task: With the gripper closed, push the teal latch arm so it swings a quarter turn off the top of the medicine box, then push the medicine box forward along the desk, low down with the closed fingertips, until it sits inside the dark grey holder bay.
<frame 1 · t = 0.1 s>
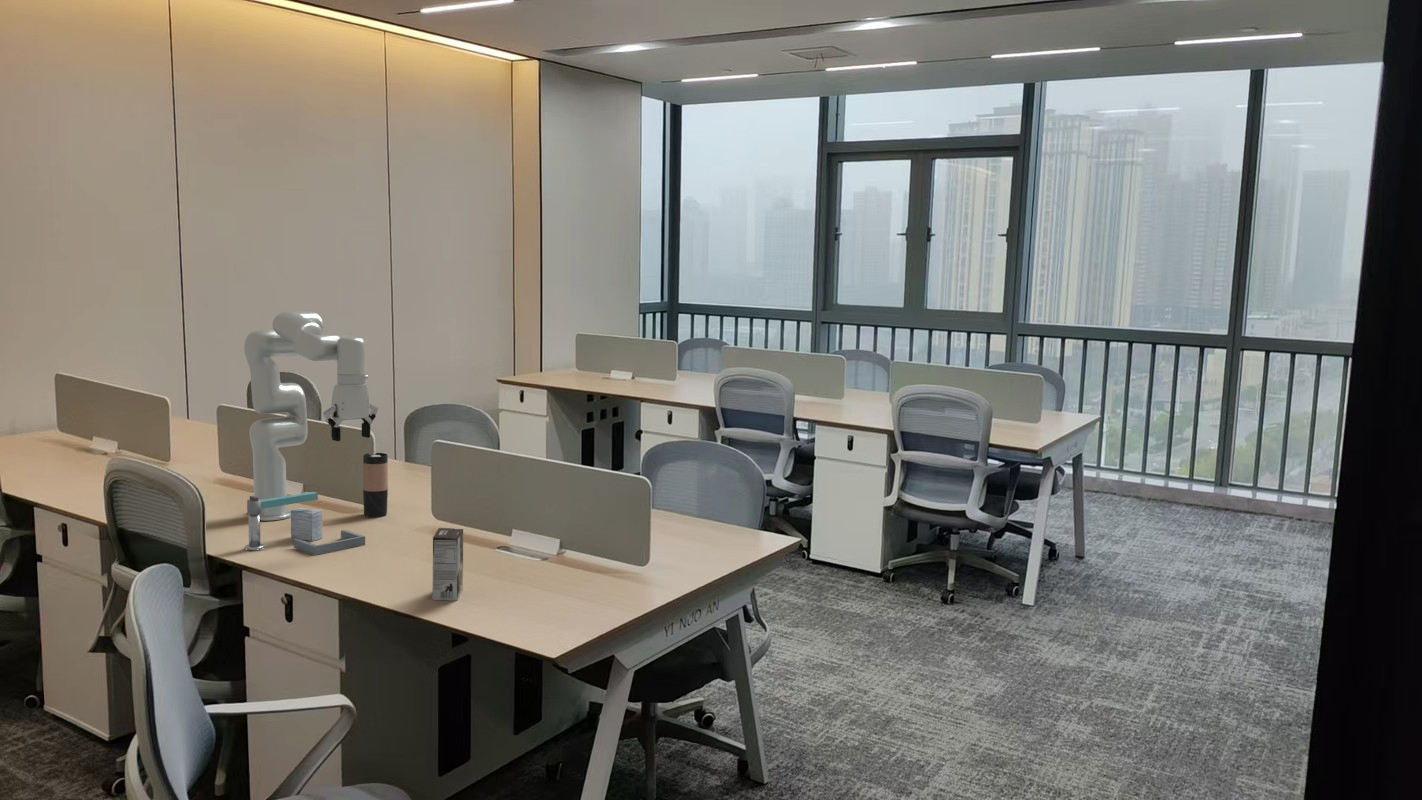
hand: (351, 438, 295), 31 cm above the table, tool pointing down, fingers open, 9 cm apart
latch arm: (282, 500, 296), point 13 cm above the table, hinge at 0.0°
travel mug: (375, 515, 334), on the table
coffee box: (447, 595, 257), on the table
bay: (329, 546, 296), on the table
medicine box: (306, 539, 303), on the table
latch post: (254, 548, 290), on the table
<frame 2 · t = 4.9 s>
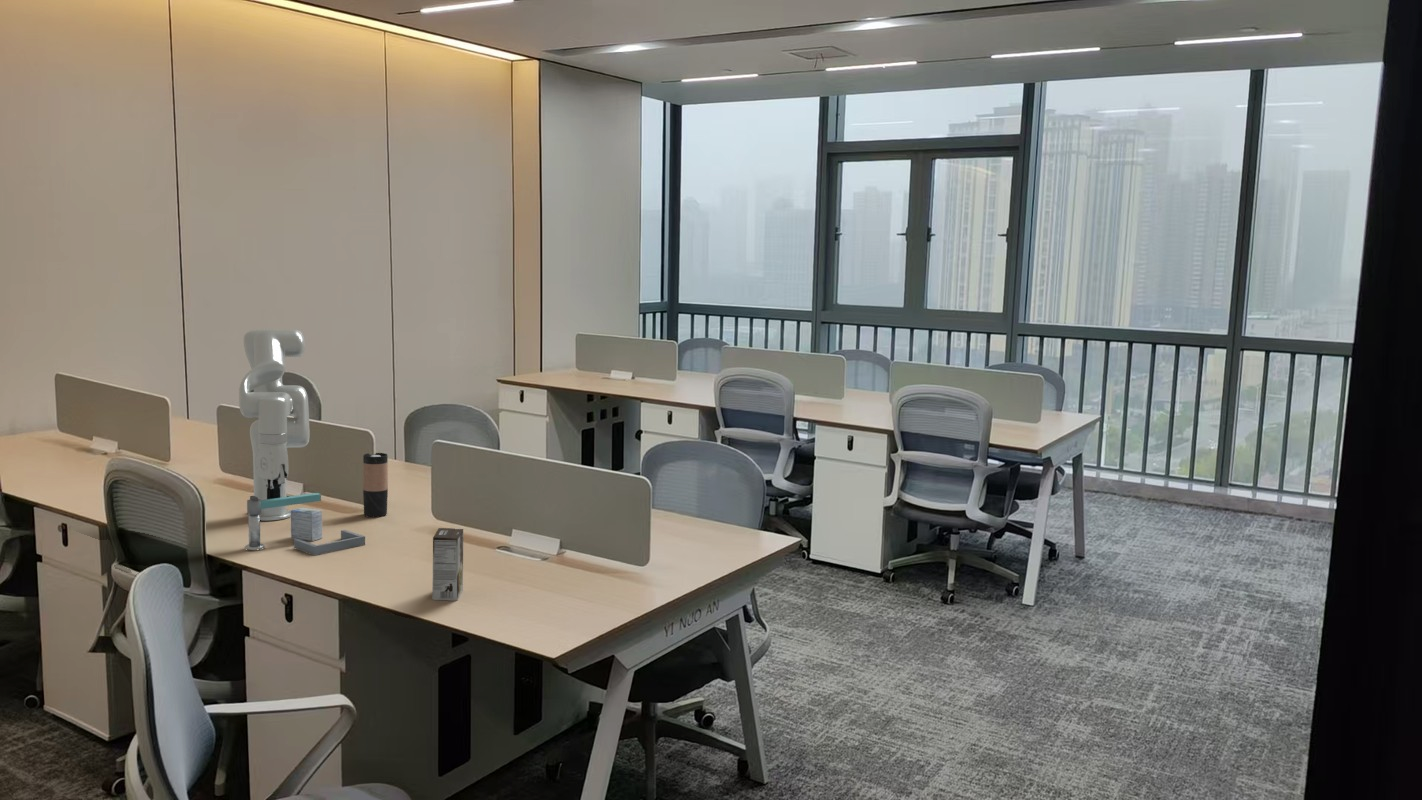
hand: (273, 501, 296), 12 cm above the table, tool pointing down, fingers closed
latch arm: (284, 500, 295), point 13 cm above the table, hinge at -6.4°, touching gripper
everything else where it was.
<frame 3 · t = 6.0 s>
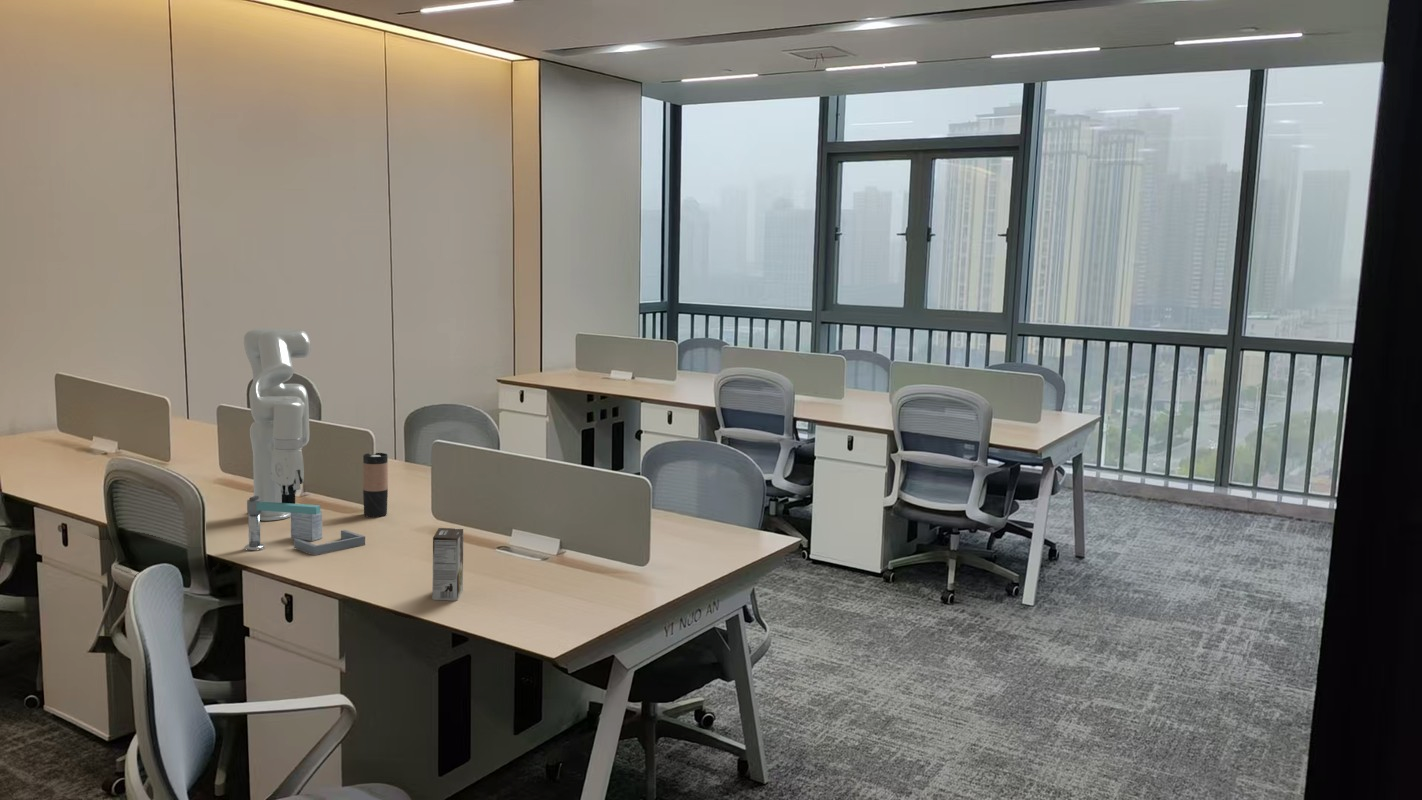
hand: (288, 507, 291), 12 cm above the table, tool pointing down, fingers closed
latch arm: (283, 506, 288), point 13 cm above the table, hinge at -58.5°, touching gripper
everything else where it was.
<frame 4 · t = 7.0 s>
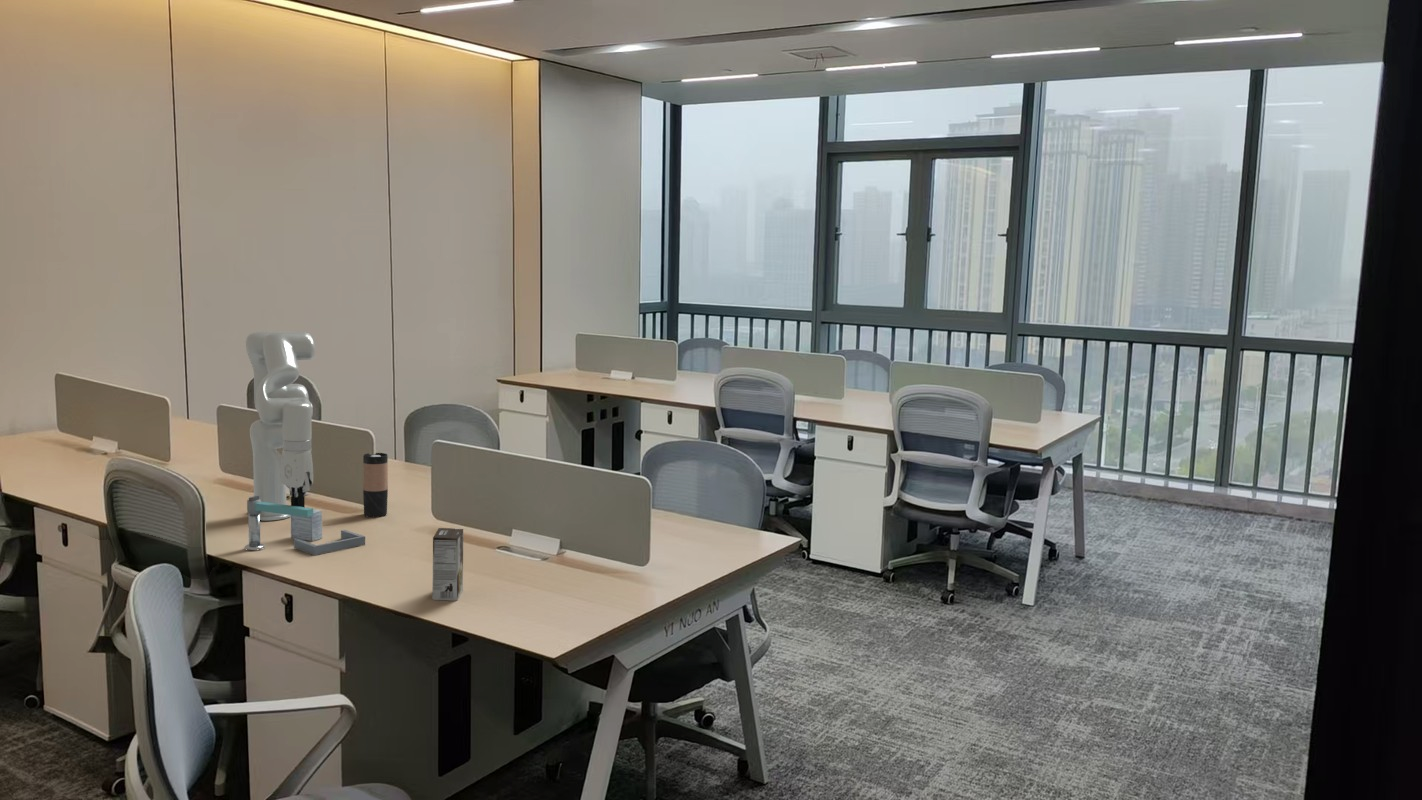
hand: (297, 509, 288), 12 cm above the table, tool pointing down, fingers closed
latch arm: (279, 508, 286), point 13 cm above the table, hinge at -69.9°, touching gripper
everything else where it was.
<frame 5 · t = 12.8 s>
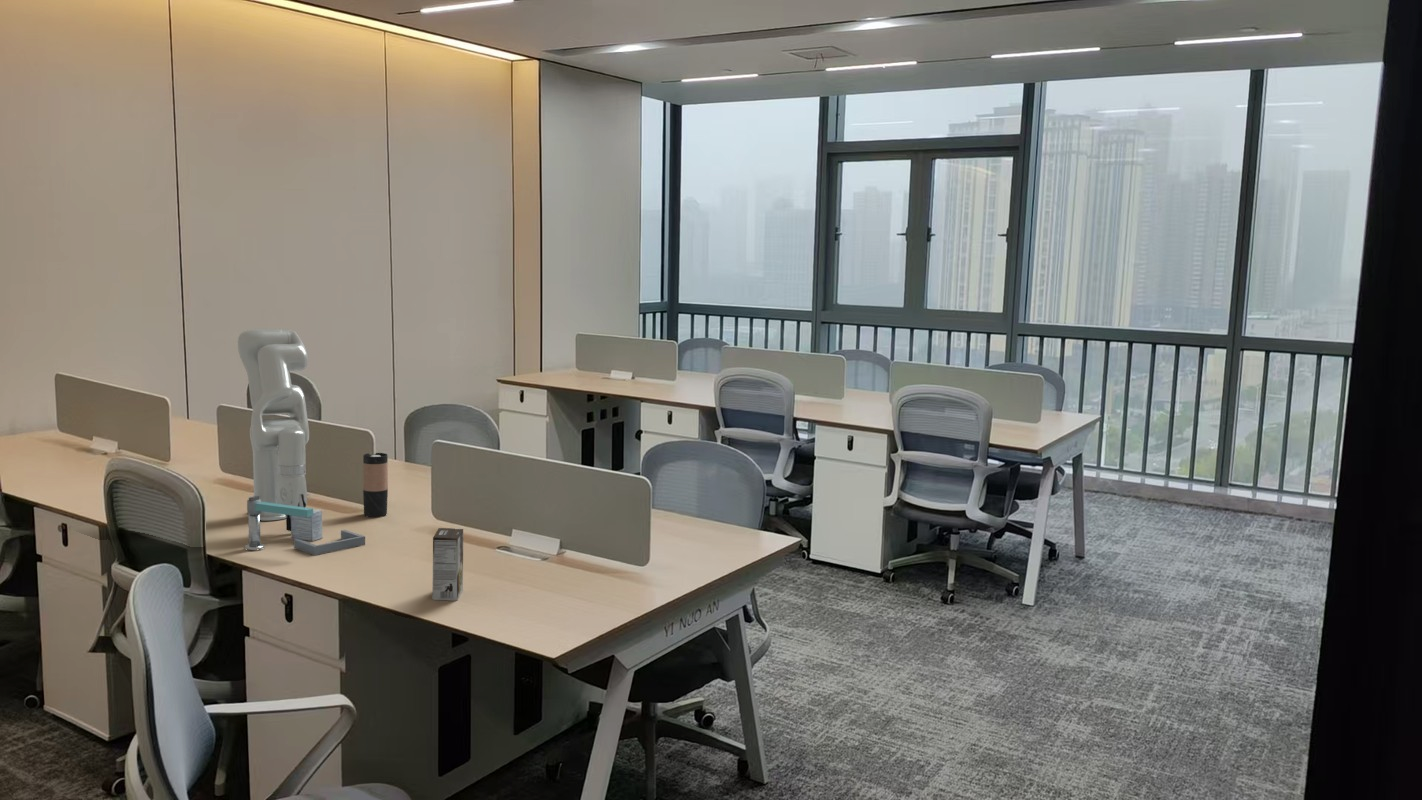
hand: (292, 529, 307), 1 cm above the table, tool pointing down, fingers closed
latch arm: (279, 508, 286), point 13 cm above the table, hinge at -70.0°
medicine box: (306, 539, 303), on the table, touching gripper
everything else where it was.
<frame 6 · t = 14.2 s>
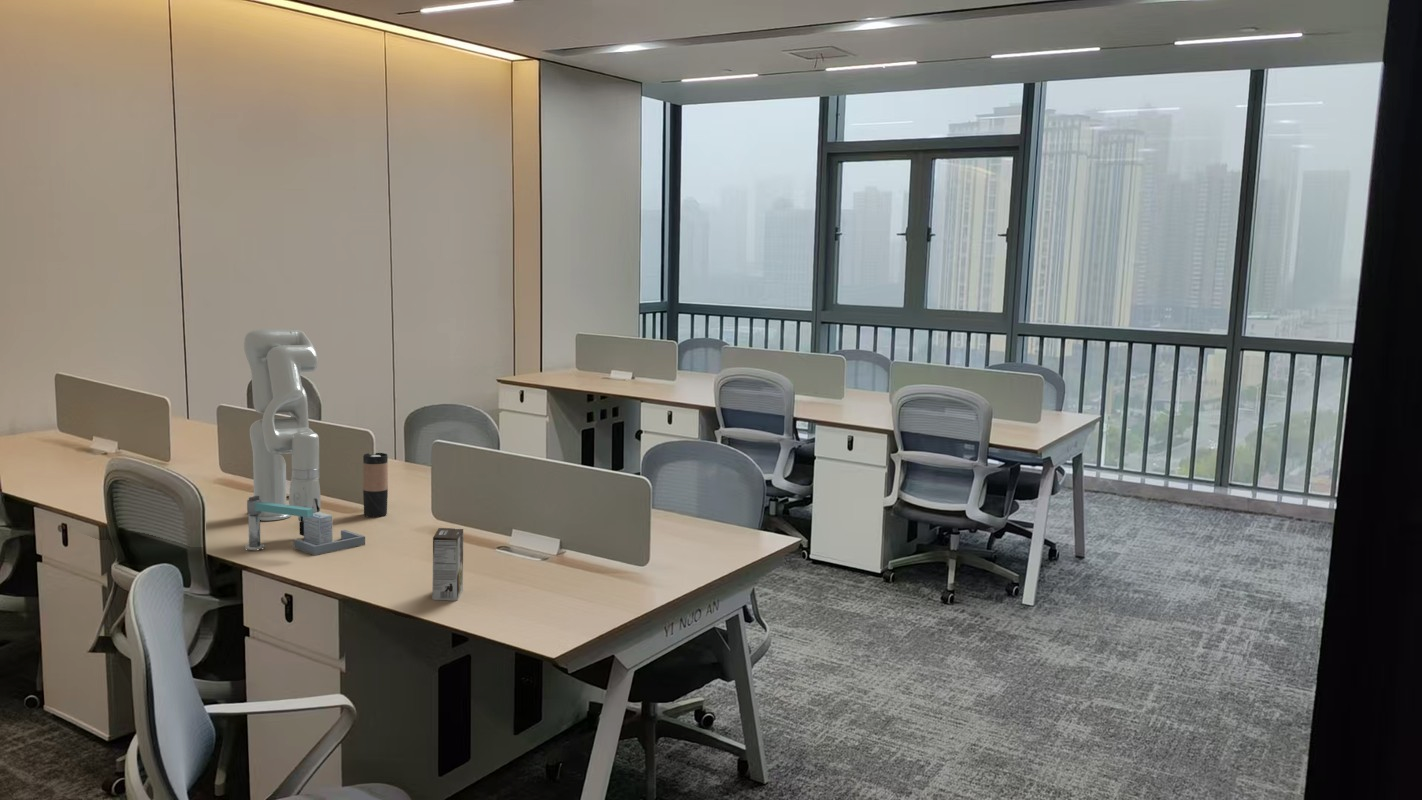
hand: (306, 534, 303), 1 cm above the table, tool pointing down, fingers closed
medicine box: (318, 543, 299), on the table, touching gripper
everything else where it was.
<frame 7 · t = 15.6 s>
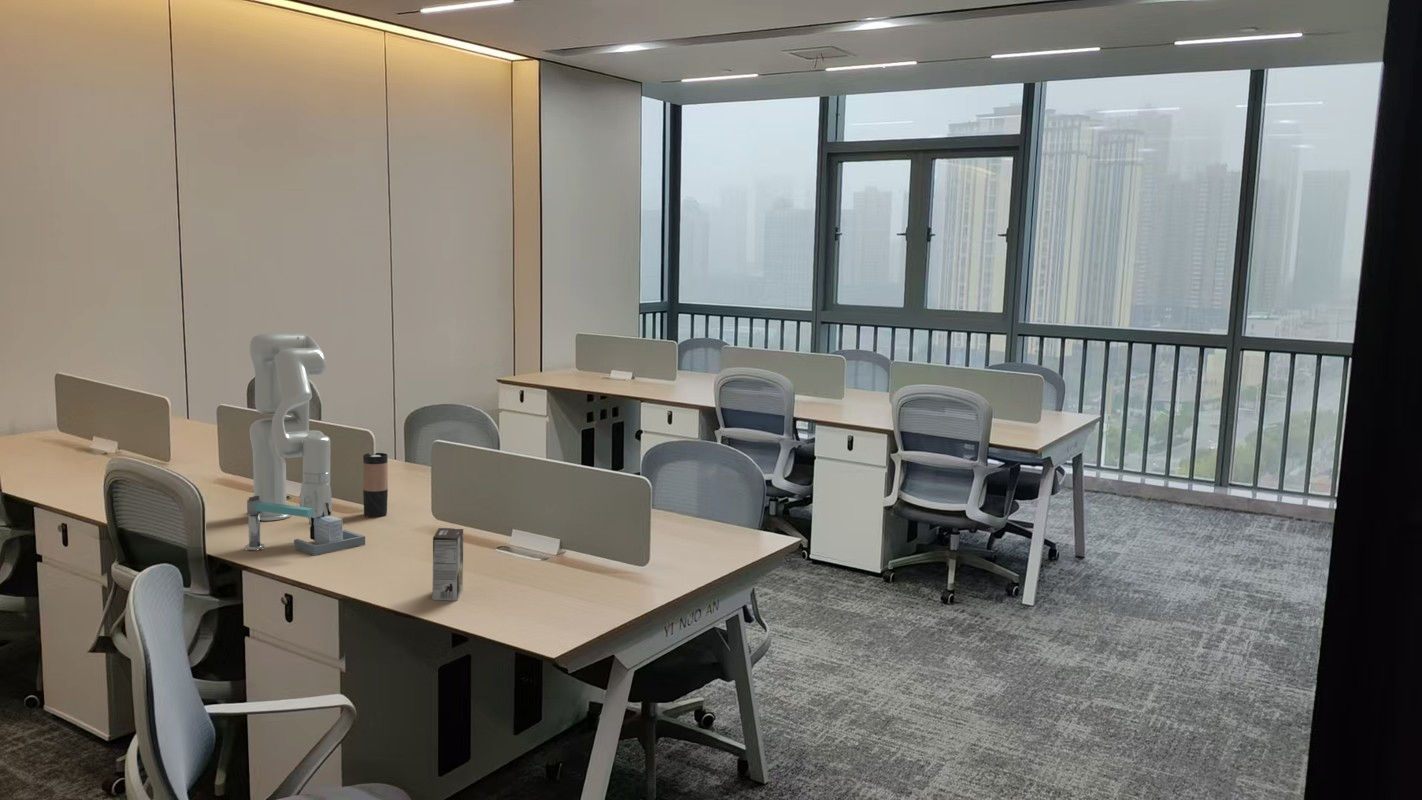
hand: (316, 538, 300), 1 cm above the table, tool pointing down, fingers closed
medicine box: (328, 547, 295), on the table, touching bay, gripper
everything else where it was.
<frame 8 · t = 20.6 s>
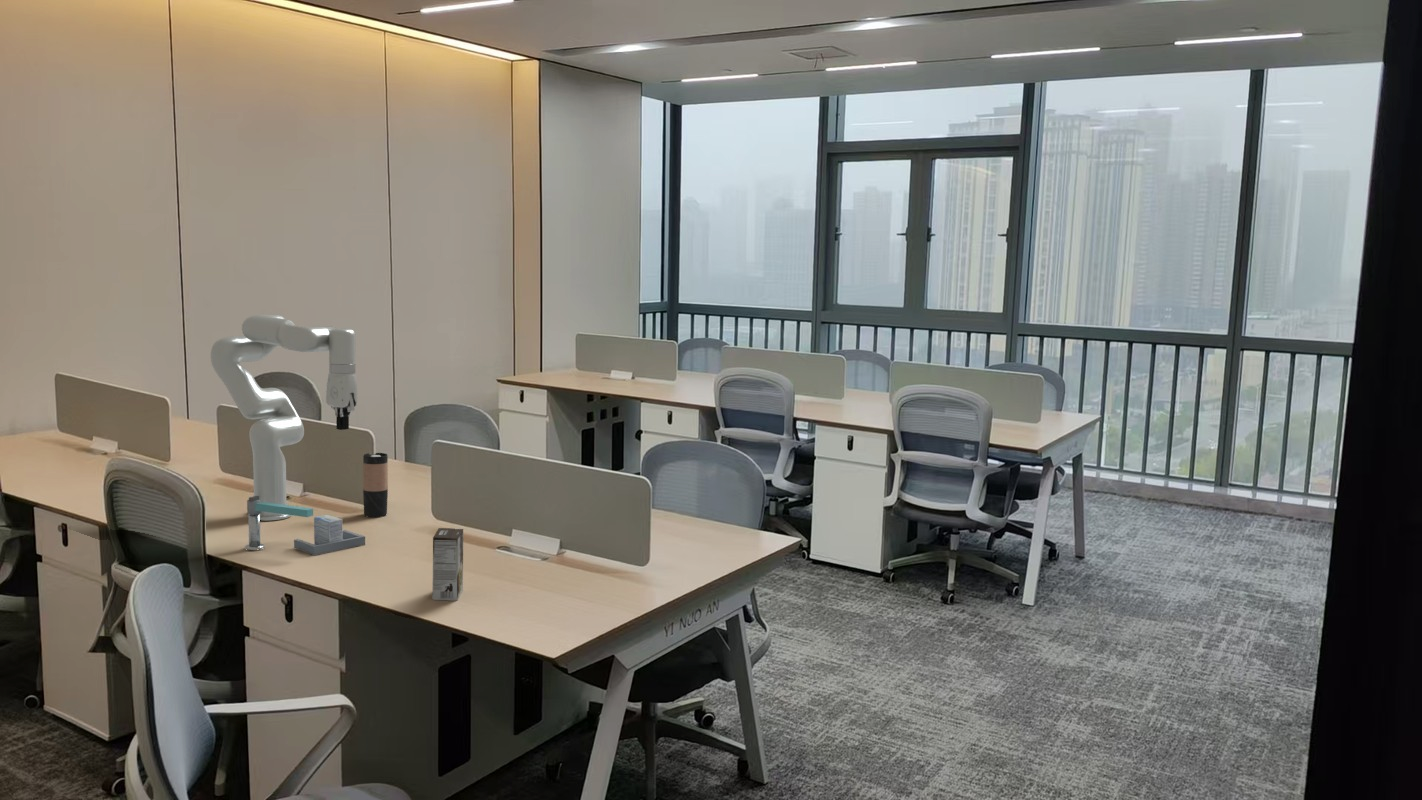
hand: (342, 429, 312), 31 cm above the table, tool pointing down, fingers closed
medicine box: (328, 547, 295), on the table
everything else where it was.
at the end: latch arm at -70° (first picture: +0°); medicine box inside the target area (0.7 cm from its centre), on the table; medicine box tilted 0° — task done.
